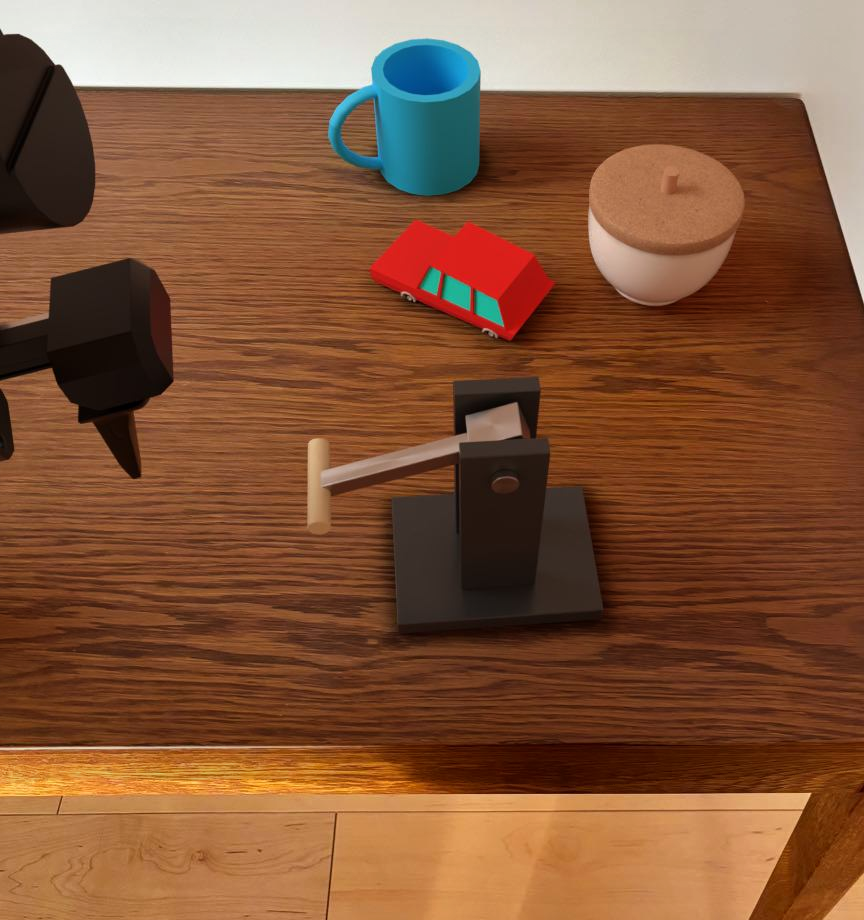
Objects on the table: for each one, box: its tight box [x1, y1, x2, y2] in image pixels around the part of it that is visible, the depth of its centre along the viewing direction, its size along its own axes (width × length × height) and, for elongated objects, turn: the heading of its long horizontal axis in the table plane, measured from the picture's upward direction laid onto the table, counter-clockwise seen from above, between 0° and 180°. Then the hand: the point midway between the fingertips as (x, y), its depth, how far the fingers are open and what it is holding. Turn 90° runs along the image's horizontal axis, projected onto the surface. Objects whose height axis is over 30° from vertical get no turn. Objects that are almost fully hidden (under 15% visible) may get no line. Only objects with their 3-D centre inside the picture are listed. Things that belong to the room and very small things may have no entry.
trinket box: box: [587, 143, 746, 307], centre depth 72 cm, size 11×11×9 cm
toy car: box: [369, 219, 556, 342], centre depth 73 cm, size 6×12×4 cm, turn 61°
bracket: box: [390, 376, 604, 635], centre depth 56 cm, size 12×9×14 cm
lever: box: [306, 402, 531, 536], centre depth 53 cm, size 12×6×2 cm, turn 96°
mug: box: [327, 38, 482, 197], centre depth 79 cm, size 12×8×8 cm
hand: (44, 495), depth 48 cm, fingers open, 9 cm apart
